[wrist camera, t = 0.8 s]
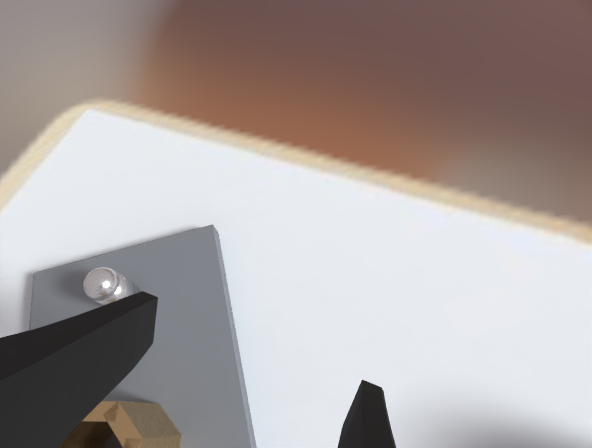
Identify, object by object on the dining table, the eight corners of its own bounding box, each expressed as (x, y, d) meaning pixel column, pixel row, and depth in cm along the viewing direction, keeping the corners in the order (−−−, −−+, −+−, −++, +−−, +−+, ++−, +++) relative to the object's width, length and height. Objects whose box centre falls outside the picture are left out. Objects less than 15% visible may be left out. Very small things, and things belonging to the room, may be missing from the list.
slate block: (272, 540, 21) (268, 548, 19) (24, 616, 20) (3, 630, 19) (218, 233, 30) (212, 224, 29) (47, 279, 30) (33, 273, 28)
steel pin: (121, 319, 26) (86, 303, 22) (105, 298, 27) (69, 279, 23) (146, 297, 27) (117, 278, 23) (130, 276, 27) (99, 255, 24)
